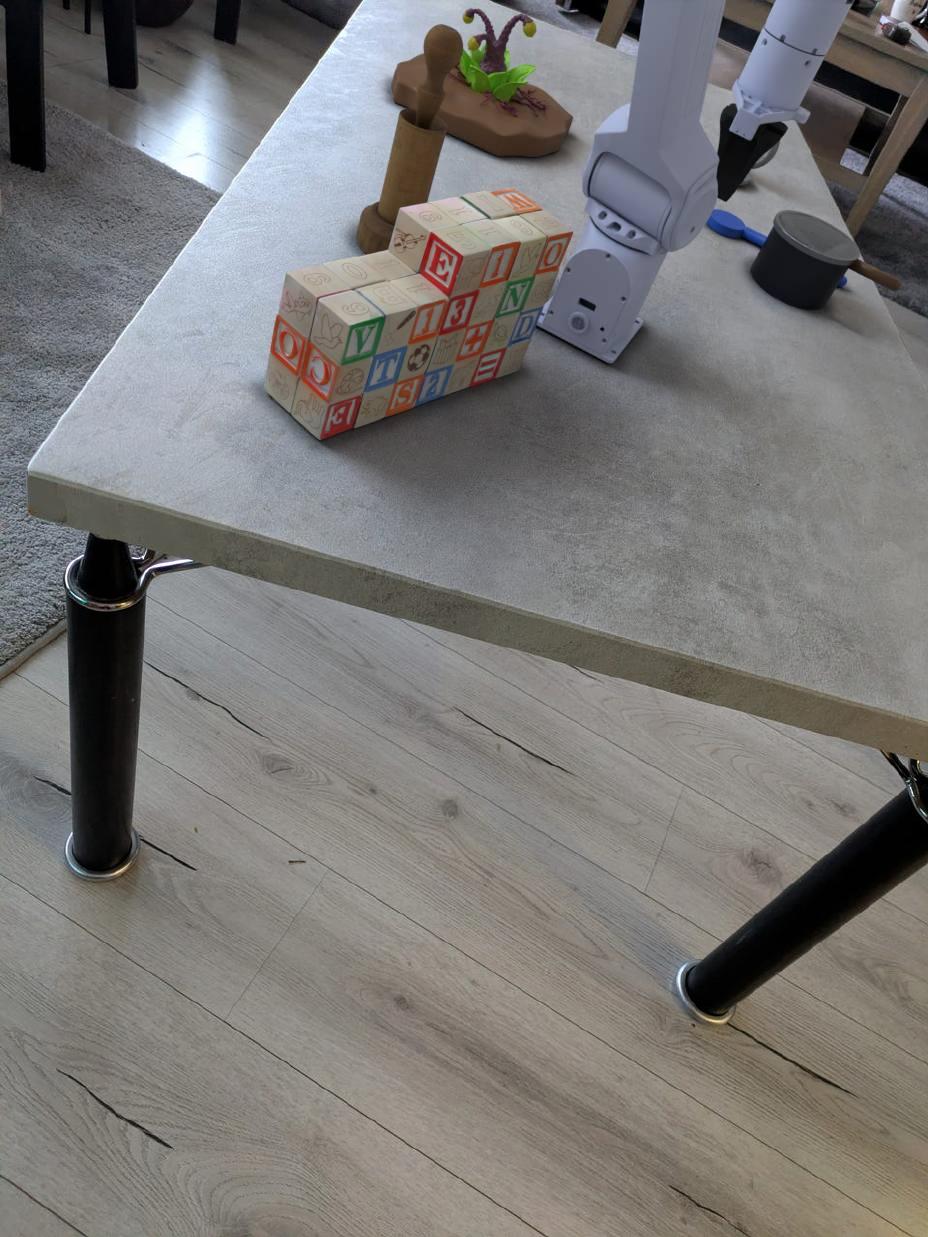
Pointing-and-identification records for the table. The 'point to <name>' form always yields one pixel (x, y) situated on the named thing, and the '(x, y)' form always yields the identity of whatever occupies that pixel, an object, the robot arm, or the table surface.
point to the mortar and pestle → (413, 144)
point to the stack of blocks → (415, 311)
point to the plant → (491, 96)
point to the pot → (809, 261)
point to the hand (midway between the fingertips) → (718, 195)
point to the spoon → (740, 230)
